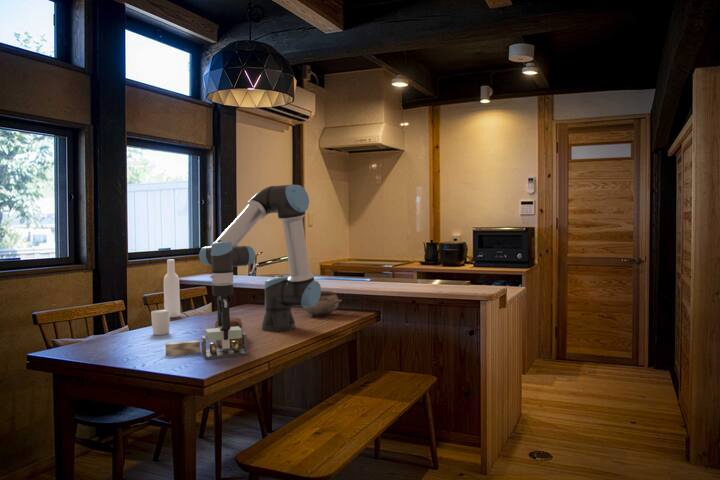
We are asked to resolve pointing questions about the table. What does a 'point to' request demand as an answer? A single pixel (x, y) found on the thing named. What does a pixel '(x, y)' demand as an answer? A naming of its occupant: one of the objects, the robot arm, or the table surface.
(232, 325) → the bread
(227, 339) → the robot arm
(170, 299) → the bottle
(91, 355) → the table surface
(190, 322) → the table surface
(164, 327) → the white cup
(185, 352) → the stand
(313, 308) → the cooking pot
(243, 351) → the chassis
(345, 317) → the table surface
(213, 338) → the board
